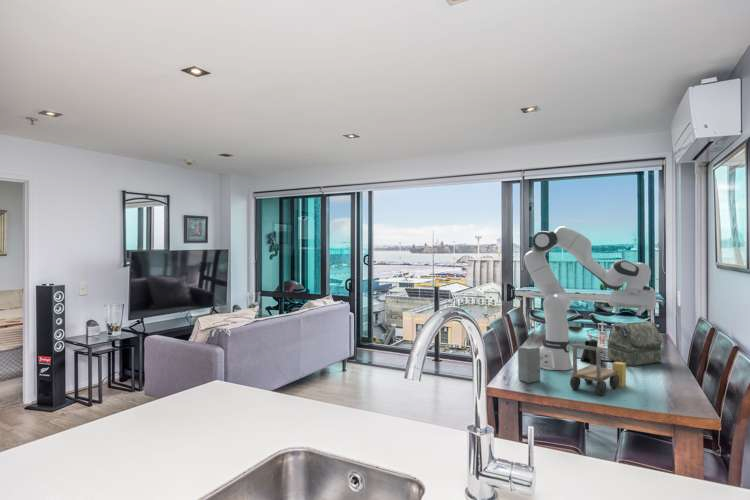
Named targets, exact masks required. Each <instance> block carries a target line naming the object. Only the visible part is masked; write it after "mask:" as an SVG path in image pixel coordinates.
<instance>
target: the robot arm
mask: <svg viewBox="0 0 750 500" xmlns="http://www.w3.org/2000/svg"><path fill="white" fill-rule="evenodd" d="M531 245H532V248H531V250H529V251H528V252H526V253H525V254H524V257H523V261H524V264H525V267H526V269H527V271H528V273H529V276H530V277H531V279H532V281H533V284H534V285H535V287H536V289H538V290H539V292H540V293H541V295H543V297H544V299H543V301H542V308H543V315H544V320H545V339H542V340H541V342H540V343H541V344H542V345H541V346H540V347H539V348H540V369H544V370H546V371H547V370H548V371H569V370H573V364H572V362H571V361H572V360H571V355H570V351H571V346H570V343H571V342H570V340H569V339H570V333H569V332H570V325H569V322H568V315H567V311H568V310H569V308H570V307H571V302H572V301H571V300H572V299H571V297H570V296H569V294H568V293H567V291H566V290H565V288H564V287H563V286H562V284H561V283H560V282H559V280H558V277H556V275H555V273H554V271H553V269H552V267H551V266H550V264H549V262H548V260H547V257H546V255H548V254H549V252H551V251H552V250H553V249H554V247H559V248H562V249H563V250H565V251H566V252H568V253H569V254H571V255H572V256H573V257H574V259H576V261H577V262H578V263H579V264H580V266H582V267H583V268H584V269H586V270H587V271H588V272H589V273H591V274H592V275H593V276H595V277H596V279H598V280H600V282H601V283H602V284H603V285H604V286H605V287H606V288H608V289H611V290H612V291H611V292H610V295H609V297H608V298H607V303H608V305H609V306H610V307H614V308H615V309H614V313H615V314H620V312H621V311H620V308H629V309H639V310H636V316H642V314H643V313H644V312H645V311H646V310H649V311H650V310H651V311H653V310H656V308H657V307H656V306H657V300H656V299H657V295H656V291H655V289H654V288H653V287H651V286H648V285H649V283H650V281H651V275H652V270H651V267H650V266H649V265H648V264H646V263H644V262H631V261H629V260H625V259H618V260H615V261H614V263H613V264H612V265H611V266H610V268H608V269H606V268H605V267H604V266H602V265H601V264H599V263H598V262H597V261H596V260H595V259H594V257H593V255H592V249H593V247H592V242H591V240H590V239H589V238H588V237H586V236H585V235H584V234H582V233H580V232H578V230H575V229H572V228H571V227H567V226H565V225H561V226H560V225H559V226H558V227H557V228H556V229H555V230H554V231H552V230H551V231H550V230H548V231H547V230H541V231H537V232H535V233H534V235H533V236H532V238H531ZM625 283H626V284H625ZM624 285H625V287H624ZM623 287H624V289H623V290H622V289H621V288H623Z"/></svg>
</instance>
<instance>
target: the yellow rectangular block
mask: <svg viewBox="0 0 750 500" xmlns="http://www.w3.org/2000/svg"><path fill="white" fill-rule="evenodd" d="M626 366H627V365H626V363H622V362H615V361H613V363H612V370H617V374H616V375H618V377H619V385H618V387H619V388H620V387H621V388H623V387H626V385H627V384H626V382H627V379H626V378H627V377H626V375H627V374H626V373H627V372H626V370H627V369H626Z"/></svg>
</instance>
